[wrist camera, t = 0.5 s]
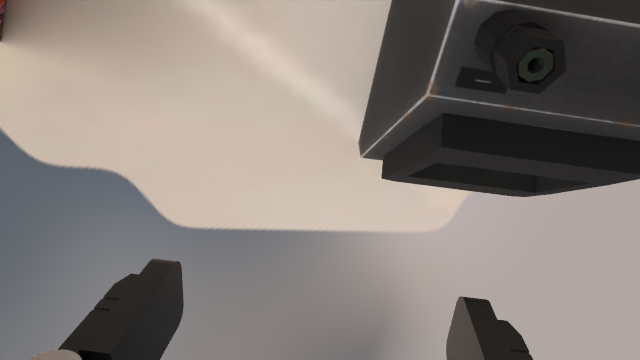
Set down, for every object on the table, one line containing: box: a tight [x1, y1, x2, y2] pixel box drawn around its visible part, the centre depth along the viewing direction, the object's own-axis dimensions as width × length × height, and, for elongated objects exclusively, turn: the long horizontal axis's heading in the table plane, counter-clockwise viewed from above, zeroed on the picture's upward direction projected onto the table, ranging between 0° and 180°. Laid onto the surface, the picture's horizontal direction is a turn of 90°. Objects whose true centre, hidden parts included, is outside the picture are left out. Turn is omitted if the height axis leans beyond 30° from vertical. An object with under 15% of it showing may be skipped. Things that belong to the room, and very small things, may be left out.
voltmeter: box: [358, 0, 640, 197], centre depth 29 cm, size 16×16×20 cm
